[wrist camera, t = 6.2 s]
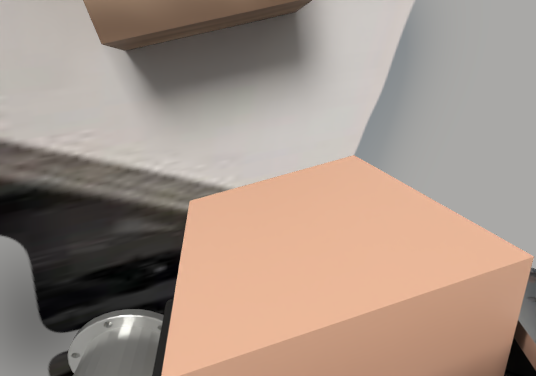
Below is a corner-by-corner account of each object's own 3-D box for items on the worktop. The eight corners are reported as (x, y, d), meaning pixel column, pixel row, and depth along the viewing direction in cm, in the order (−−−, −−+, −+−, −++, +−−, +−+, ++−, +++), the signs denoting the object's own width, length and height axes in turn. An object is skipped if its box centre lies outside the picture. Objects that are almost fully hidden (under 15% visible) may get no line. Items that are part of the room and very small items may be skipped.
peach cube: (364, 279, 12) (487, 442, 7) (235, 321, 12) (257, 534, 6) (354, 155, 10) (533, 256, 4) (189, 200, 9) (160, 381, 4)
